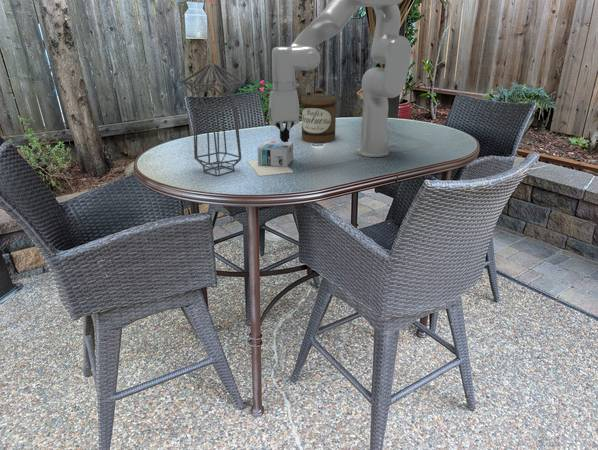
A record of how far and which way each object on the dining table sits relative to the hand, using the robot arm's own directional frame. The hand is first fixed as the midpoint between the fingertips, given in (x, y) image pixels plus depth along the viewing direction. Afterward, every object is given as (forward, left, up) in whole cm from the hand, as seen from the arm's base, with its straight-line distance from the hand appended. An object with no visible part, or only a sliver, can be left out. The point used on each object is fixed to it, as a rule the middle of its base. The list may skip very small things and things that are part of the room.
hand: (284, 141), depth 150 cm
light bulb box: (-3, -1, -5) cm, 6 cm away
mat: (+6, 0, -9) cm, 11 cm away
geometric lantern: (+23, -2, -9) cm, 25 cm away
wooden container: (-26, -34, -9) cm, 44 cm away
